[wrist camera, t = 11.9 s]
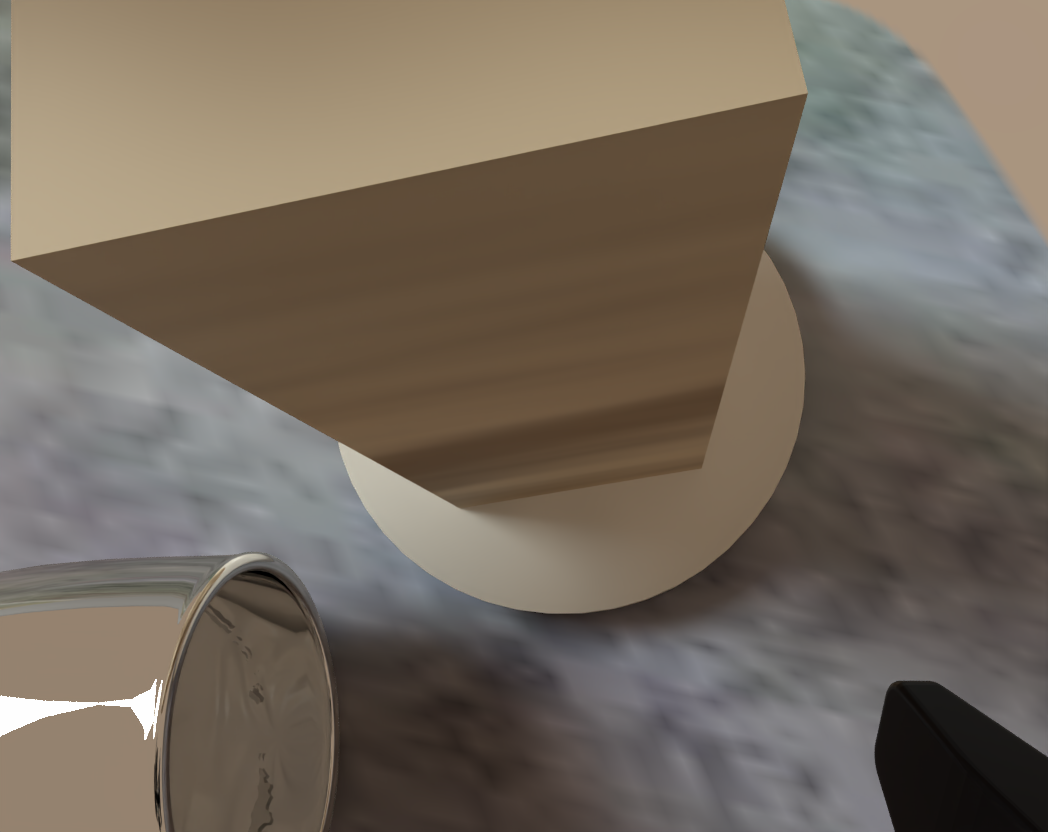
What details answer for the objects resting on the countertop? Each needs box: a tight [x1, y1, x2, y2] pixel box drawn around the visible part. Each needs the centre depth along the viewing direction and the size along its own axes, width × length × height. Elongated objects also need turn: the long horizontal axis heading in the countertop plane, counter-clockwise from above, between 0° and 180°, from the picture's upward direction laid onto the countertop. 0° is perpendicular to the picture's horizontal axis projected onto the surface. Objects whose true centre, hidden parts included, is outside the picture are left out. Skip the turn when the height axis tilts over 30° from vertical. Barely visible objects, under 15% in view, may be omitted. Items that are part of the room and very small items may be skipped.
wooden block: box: [11, 0, 808, 508], centre depth 12 cm, size 5×5×13 cm
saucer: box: [338, 250, 805, 614], centre depth 19 cm, size 10×10×1 cm
